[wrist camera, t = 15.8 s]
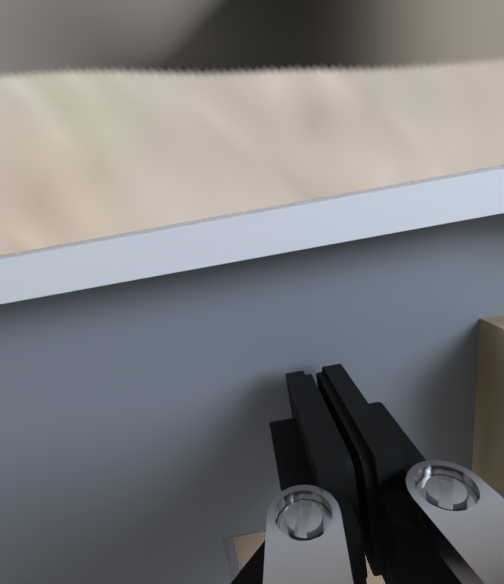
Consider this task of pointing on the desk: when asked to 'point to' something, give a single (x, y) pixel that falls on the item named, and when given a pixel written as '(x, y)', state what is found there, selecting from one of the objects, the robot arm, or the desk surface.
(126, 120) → the desk surface
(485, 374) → the wooden block
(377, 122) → the desk surface
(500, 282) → the box
